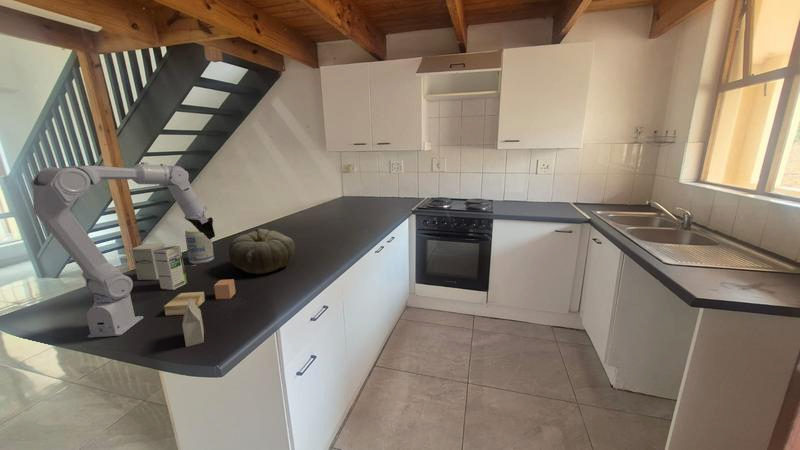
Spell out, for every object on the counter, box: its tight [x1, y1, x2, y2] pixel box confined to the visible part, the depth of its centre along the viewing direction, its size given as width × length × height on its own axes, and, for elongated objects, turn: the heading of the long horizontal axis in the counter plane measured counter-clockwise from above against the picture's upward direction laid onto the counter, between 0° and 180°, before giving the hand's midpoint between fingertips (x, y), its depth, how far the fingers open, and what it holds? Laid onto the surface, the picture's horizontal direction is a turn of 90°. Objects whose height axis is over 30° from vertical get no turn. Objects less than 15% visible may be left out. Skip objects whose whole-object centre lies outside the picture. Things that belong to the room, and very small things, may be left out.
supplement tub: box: [184, 226, 215, 265], centre depth 139 cm, size 10×10×15 cm
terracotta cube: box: [213, 278, 236, 300], centre depth 105 cm, size 4×4×5 cm
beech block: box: [163, 291, 206, 316], centre depth 98 cm, size 9×7×3 cm
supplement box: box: [131, 243, 166, 281], centre depth 121 cm, size 7×7×13 cm
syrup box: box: [153, 245, 188, 291], centre depth 112 cm, size 6×6×14 cm
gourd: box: [228, 228, 296, 275], centre depth 130 cm, size 25×25×17 cm
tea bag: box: [182, 298, 205, 348], centre depth 81 cm, size 4×7×10 cm, turn 31°
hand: (207, 234), depth 110 cm, fingers open, 7 cm apart
